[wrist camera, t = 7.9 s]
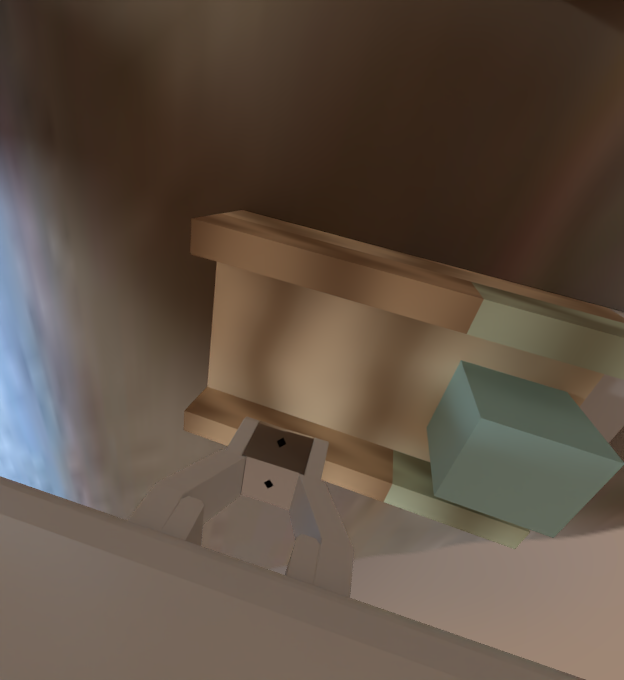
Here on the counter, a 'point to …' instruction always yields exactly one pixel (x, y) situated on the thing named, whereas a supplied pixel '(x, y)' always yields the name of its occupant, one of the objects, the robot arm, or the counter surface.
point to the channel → (375, 351)
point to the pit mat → (606, 404)
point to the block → (516, 450)
